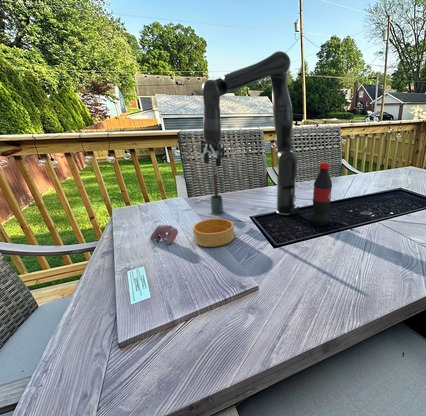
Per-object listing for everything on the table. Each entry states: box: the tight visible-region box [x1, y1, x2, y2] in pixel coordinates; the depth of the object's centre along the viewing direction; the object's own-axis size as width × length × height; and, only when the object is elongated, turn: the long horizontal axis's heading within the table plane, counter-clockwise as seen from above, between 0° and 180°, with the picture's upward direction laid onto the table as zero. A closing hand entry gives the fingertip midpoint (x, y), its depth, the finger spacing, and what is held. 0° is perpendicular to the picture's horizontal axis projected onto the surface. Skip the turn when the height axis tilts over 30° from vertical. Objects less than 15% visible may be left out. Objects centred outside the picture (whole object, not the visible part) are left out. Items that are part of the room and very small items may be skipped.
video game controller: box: [150, 224, 179, 245], centre depth 104 cm, size 10×5×7 cm, turn 71°
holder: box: [209, 194, 224, 215], centre depth 133 cm, size 6×6×9 cm
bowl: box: [192, 218, 235, 248], centre depth 106 cm, size 15×15×6 cm
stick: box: [212, 172, 219, 198], centre depth 131 cm, size 2×2×20 cm
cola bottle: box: [311, 162, 333, 228], centre depth 122 cm, size 8×8×30 cm
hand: (212, 164), depth 123 cm, fingers open, 8 cm apart
